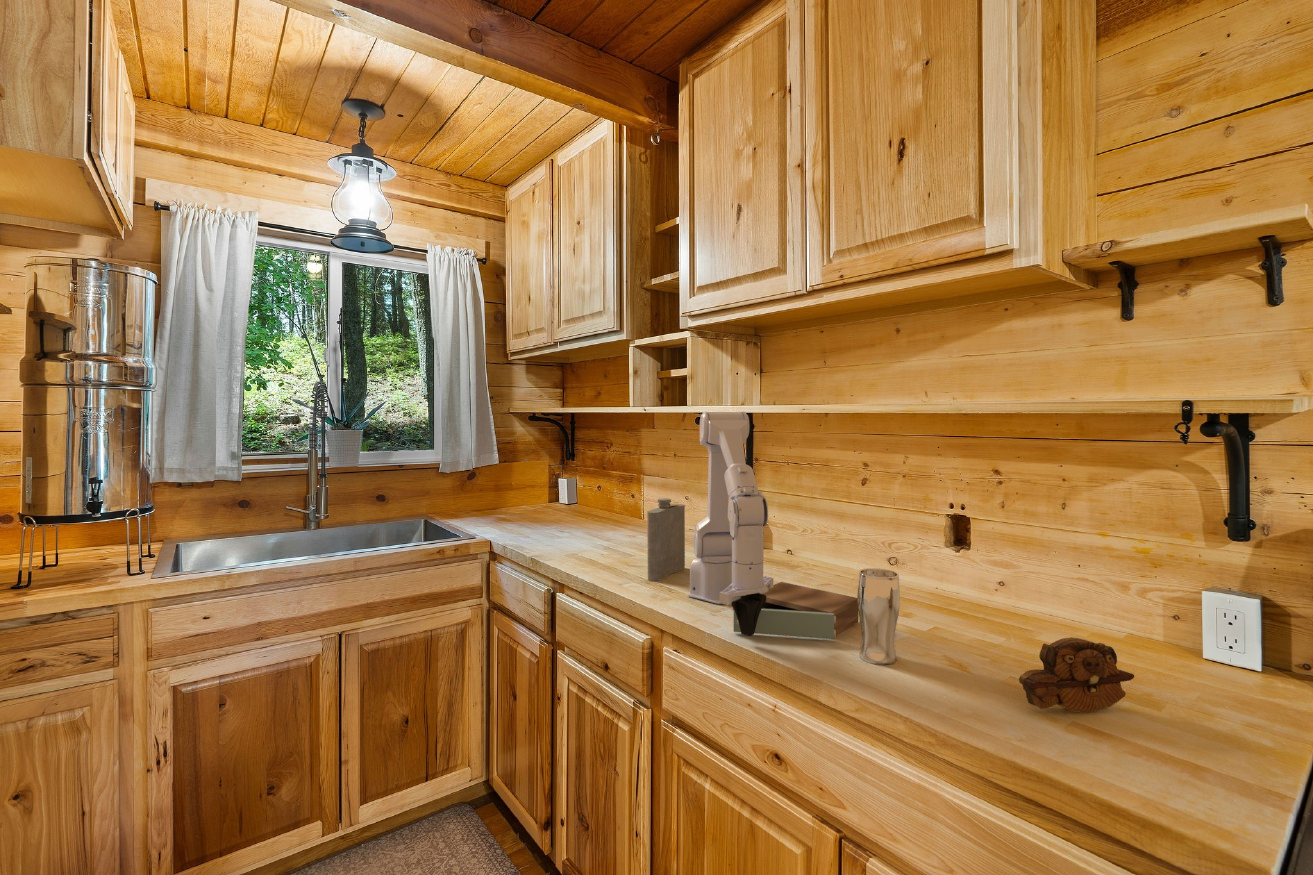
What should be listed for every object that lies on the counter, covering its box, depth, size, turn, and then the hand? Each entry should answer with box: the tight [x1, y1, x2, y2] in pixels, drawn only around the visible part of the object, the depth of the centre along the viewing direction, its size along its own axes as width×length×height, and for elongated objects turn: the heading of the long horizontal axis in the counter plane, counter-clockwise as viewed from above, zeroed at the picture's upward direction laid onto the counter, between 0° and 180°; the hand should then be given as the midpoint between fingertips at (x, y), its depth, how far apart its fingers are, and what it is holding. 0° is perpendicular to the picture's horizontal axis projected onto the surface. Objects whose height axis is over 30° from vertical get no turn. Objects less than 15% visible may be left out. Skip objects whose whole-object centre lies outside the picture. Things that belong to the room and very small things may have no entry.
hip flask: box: [646, 497, 686, 582], centre depth 164 cm, size 16×4×20 cm, turn 148°
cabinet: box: [760, 581, 859, 636], centre depth 128 cm, size 18×12×5 cm, turn 47°
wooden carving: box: [1018, 637, 1135, 714], centre depth 89 cm, size 16×5×10 cm, turn 101°
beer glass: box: [856, 567, 901, 666], centre depth 108 cm, size 7×7×15 cm
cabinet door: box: [733, 609, 837, 640], centre depth 118 cm, size 19×2×5 cm, turn 77°
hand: (747, 633), depth 115 cm, fingers closed
